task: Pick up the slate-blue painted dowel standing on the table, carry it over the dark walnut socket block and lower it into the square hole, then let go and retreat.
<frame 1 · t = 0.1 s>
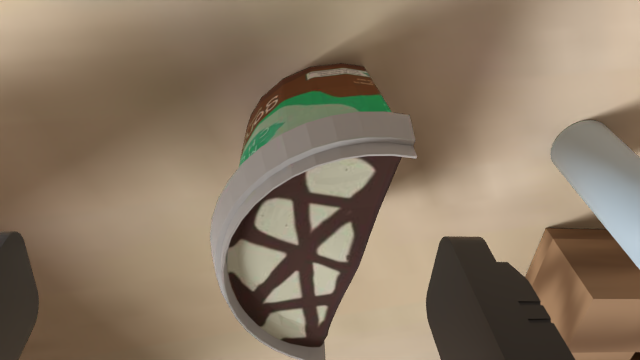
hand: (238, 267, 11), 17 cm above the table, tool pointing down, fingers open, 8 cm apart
food container: (282, 132, 29), on the table
dowel: (580, 146, 31), on the table
socket block: (605, 305, 39), on the table
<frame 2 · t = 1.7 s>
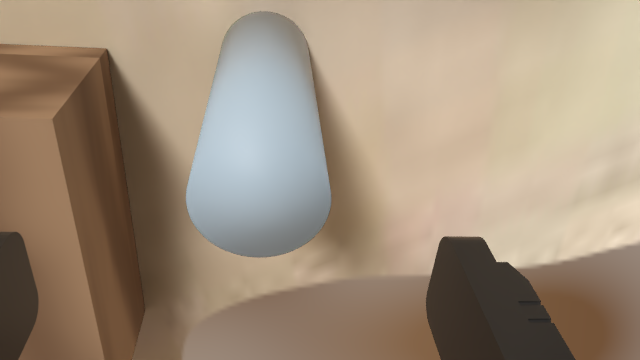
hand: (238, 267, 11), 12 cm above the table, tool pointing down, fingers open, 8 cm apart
dowel: (265, 55, 21), on the table
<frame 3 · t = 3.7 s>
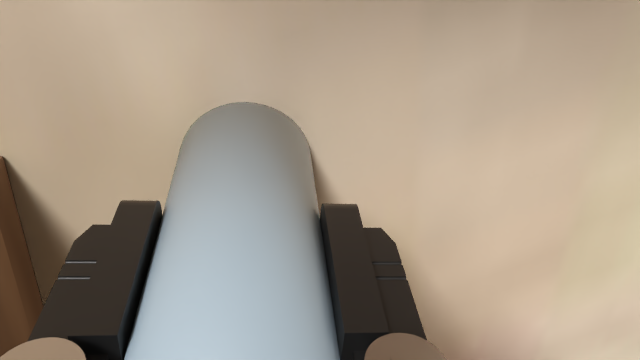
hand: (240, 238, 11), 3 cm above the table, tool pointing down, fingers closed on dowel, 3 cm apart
dowel: (246, 162, 14), on the table, touching gripper
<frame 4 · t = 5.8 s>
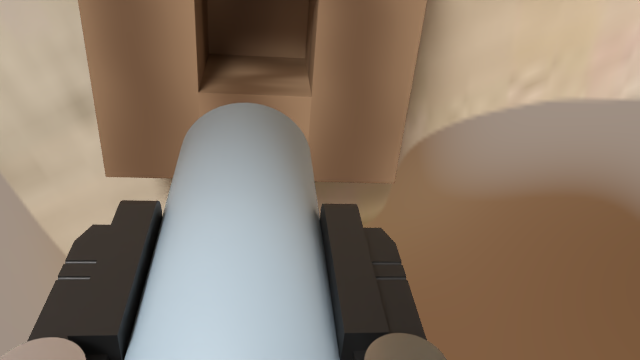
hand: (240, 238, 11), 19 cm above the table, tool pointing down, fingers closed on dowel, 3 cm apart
dowel: (246, 162, 14), point 16 cm above the table, touching gripper
socket block: (258, 2, 28), on the table
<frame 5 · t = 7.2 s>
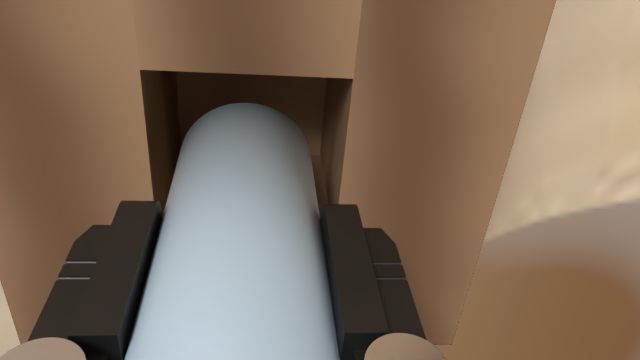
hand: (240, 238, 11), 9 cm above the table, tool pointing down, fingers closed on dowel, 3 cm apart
dowel: (246, 162, 14), point 6 cm above the table, touching gripper
socket block: (252, 78, 19), on the table
when the fingers open (7 cm above the table, at t = 8.3 s): dowel drops 2 cm, resting on socket block.
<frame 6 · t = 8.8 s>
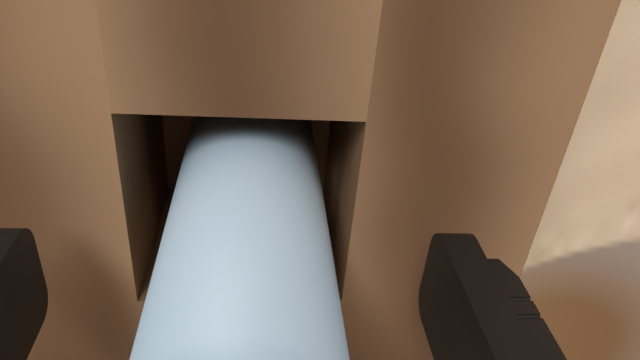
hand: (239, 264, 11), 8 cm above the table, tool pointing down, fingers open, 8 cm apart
dowel: (253, 120, 16), point 1 cm above the table, touching socket block
socket block: (248, 106, 17), on the table
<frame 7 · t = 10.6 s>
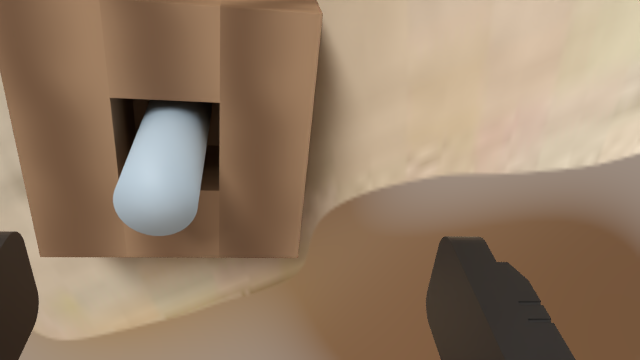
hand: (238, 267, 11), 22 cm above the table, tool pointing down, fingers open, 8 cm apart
dowel: (181, 105, 31), point 1 cm above the table, touching socket block
socket block: (180, 98, 32), on the table
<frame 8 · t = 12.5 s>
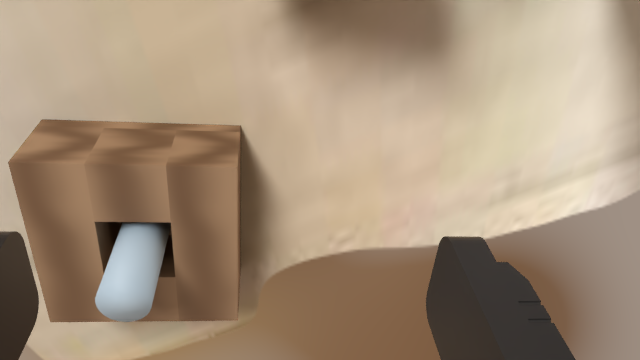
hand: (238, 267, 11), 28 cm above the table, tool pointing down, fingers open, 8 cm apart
dowel: (151, 209, 42), point 1 cm above the table, touching socket block
socket block: (151, 202, 43), on the table
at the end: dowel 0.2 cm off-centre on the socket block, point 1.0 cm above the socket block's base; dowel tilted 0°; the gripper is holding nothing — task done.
